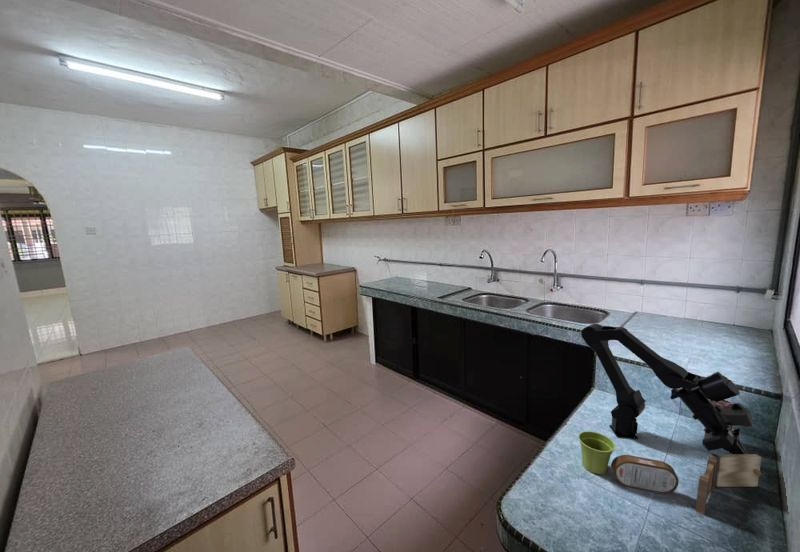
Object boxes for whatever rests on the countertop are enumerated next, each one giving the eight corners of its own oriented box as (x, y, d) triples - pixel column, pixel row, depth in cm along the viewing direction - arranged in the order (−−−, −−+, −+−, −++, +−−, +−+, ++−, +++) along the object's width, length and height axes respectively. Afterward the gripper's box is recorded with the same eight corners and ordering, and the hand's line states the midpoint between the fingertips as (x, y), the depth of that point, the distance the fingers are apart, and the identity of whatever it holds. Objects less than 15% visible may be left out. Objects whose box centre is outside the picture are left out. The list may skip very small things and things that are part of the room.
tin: (673, 490, 88) (676, 461, 87) (679, 499, 86) (682, 470, 84) (609, 477, 93) (611, 450, 92) (612, 485, 90) (614, 457, 89)
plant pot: (620, 473, 95) (622, 445, 94) (598, 483, 91) (600, 454, 90) (590, 453, 103) (592, 428, 102) (569, 462, 100) (571, 435, 99)
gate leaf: (713, 490, 88) (716, 460, 87) (703, 482, 91) (706, 453, 89) (762, 490, 87) (766, 460, 86) (751, 482, 90) (755, 453, 89)
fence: (703, 514, 81) (708, 482, 79) (695, 510, 82) (699, 478, 81) (713, 490, 88) (717, 459, 87) (705, 486, 89) (708, 456, 88)
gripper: (725, 408, 85) (782, 471, 79) (736, 387, 97) (786, 440, 90) (682, 422, 93) (730, 480, 86) (697, 400, 104) (741, 450, 97)
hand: (748, 461), depth 90 cm, fingers closed
